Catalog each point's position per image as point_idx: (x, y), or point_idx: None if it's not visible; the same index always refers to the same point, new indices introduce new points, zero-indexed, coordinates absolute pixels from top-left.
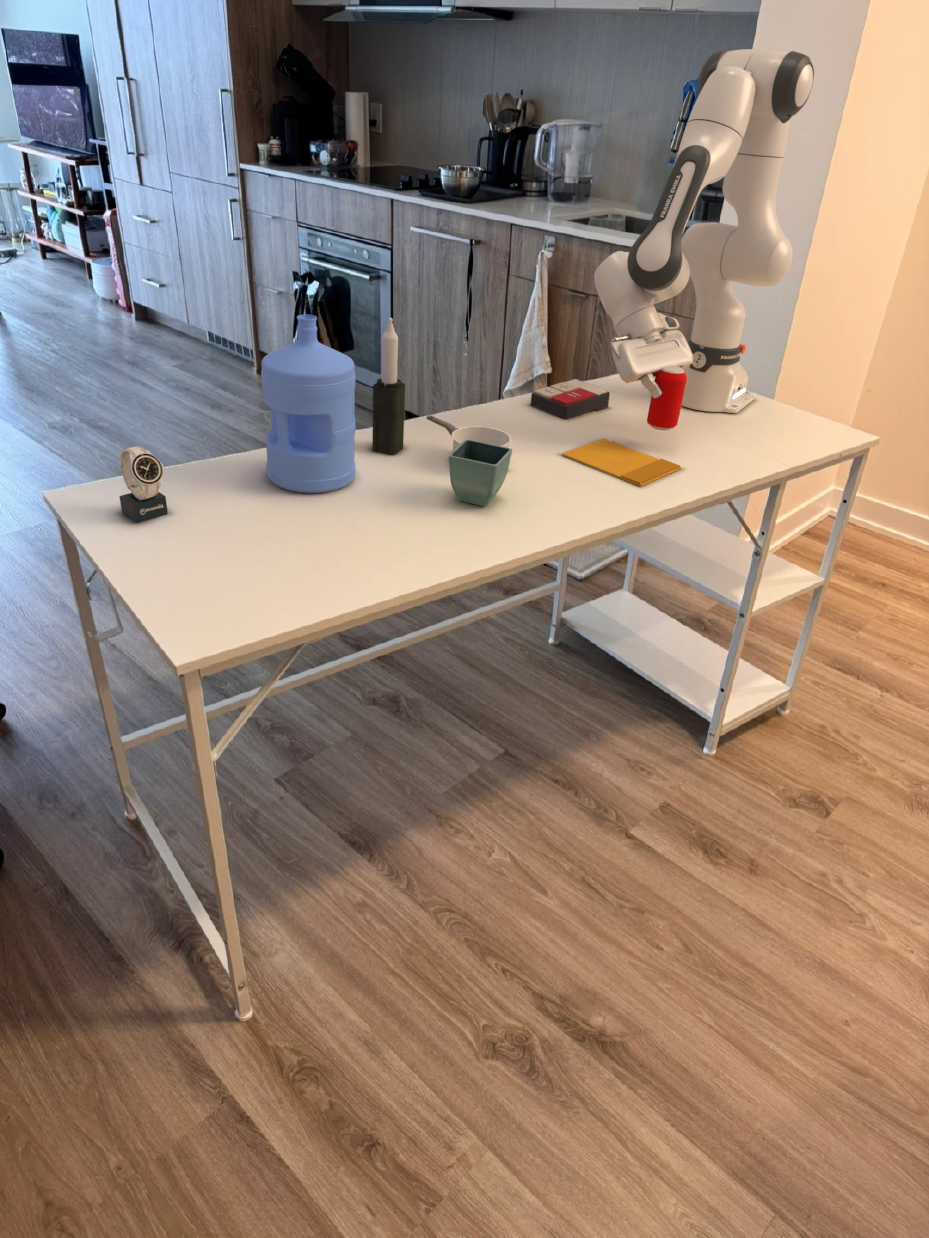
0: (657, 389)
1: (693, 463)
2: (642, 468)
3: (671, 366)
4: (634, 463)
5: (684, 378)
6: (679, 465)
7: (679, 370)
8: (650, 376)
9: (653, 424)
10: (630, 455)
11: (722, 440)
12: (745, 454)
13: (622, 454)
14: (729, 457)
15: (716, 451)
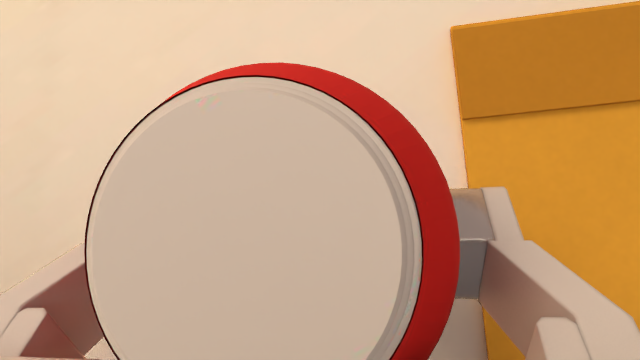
0: (514, 222)
1: (350, 46)
2: (636, 87)
3: (156, 337)
4: (607, 154)
5: (245, 66)
6: (456, 30)
7: (216, 145)
8: (606, 352)
9: (421, 228)
10: (548, 225)
11: (47, 142)
12: (99, 7)
13: (575, 252)
14: (175, 17)
15: (165, 81)
